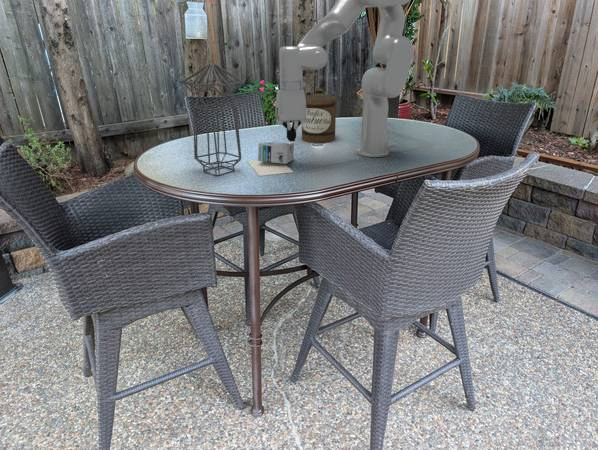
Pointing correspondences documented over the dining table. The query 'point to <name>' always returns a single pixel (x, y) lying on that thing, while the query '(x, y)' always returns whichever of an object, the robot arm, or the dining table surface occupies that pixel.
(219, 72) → the geometric lantern
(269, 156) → the light bulb box
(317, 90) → the wooden container
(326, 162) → the dining table surface
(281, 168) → the mat
